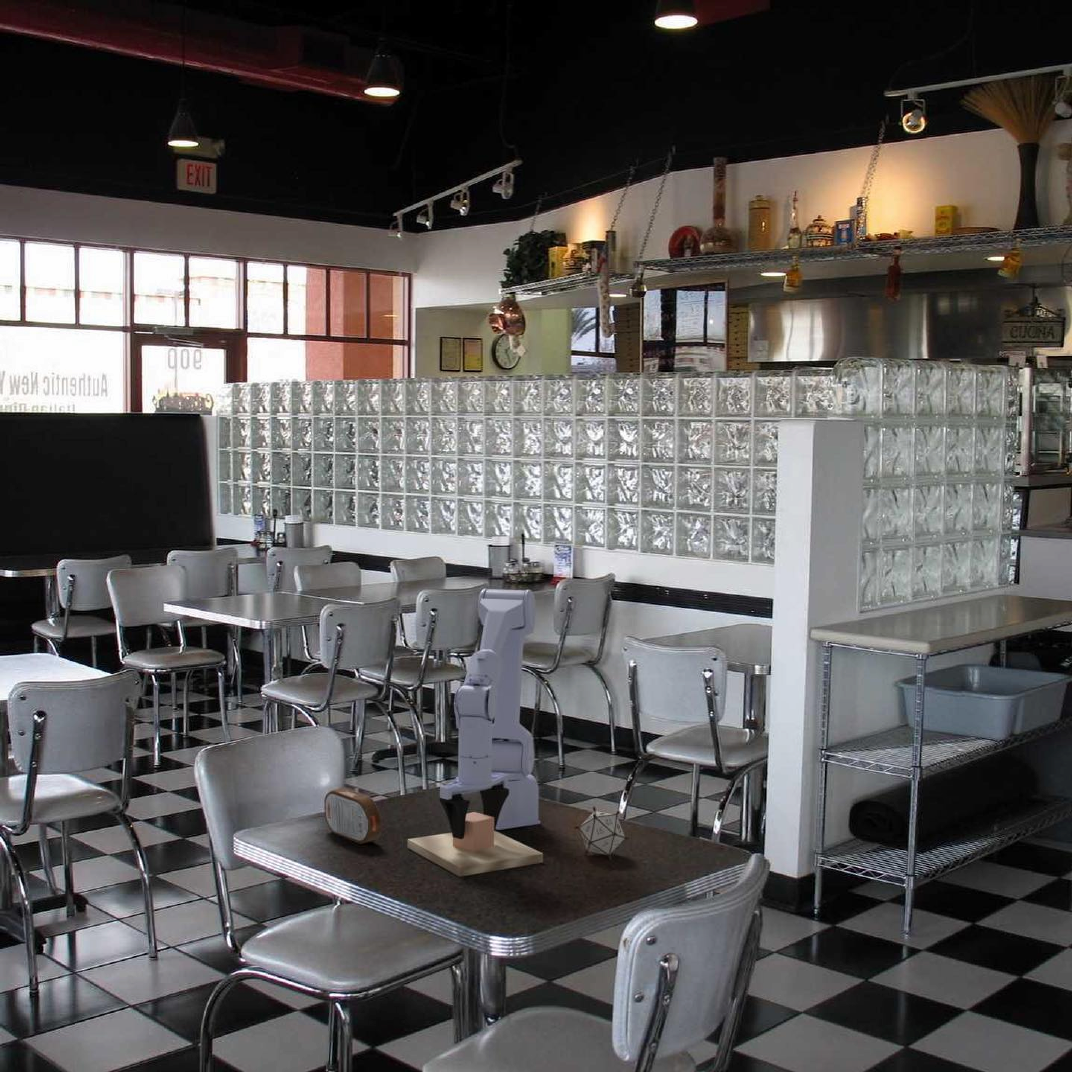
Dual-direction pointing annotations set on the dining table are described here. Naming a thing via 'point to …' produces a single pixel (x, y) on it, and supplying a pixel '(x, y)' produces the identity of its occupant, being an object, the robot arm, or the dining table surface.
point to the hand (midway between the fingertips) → (474, 833)
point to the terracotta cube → (476, 833)
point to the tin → (352, 815)
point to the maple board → (474, 854)
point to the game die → (601, 832)
